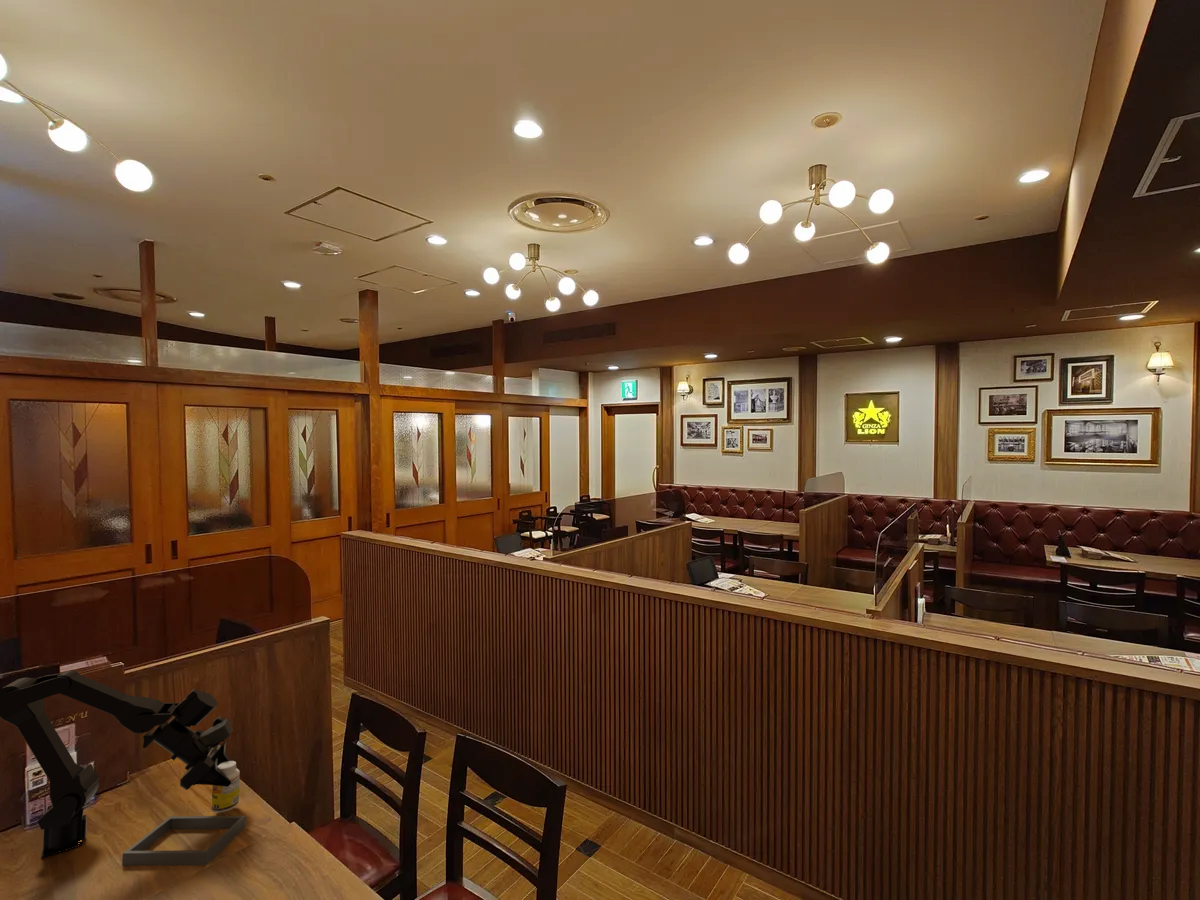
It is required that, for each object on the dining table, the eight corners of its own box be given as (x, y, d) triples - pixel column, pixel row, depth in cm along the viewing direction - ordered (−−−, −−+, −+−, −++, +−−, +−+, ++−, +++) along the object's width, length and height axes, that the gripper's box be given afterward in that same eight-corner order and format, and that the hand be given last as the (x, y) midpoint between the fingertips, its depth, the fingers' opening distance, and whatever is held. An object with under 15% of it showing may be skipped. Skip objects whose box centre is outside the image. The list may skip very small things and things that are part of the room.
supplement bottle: (210, 806, 137) (211, 763, 138) (236, 798, 141) (238, 756, 141) (212, 817, 133) (214, 772, 133) (240, 808, 136) (241, 765, 137)
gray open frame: (122, 865, 118) (122, 853, 118) (169, 827, 131) (170, 816, 131) (206, 864, 118) (207, 852, 118) (245, 826, 131) (246, 815, 131)
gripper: (199, 728, 128) (253, 768, 132) (219, 699, 145) (266, 735, 149) (155, 770, 124) (212, 810, 128) (181, 735, 142) (230, 771, 145)
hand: (232, 778), depth 138 cm, fingers closed on supplement bottle, 5 cm apart
